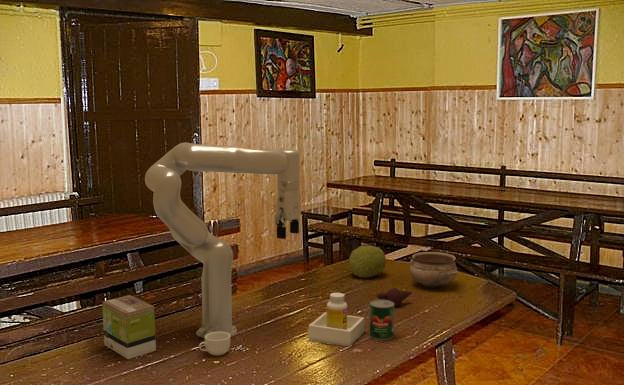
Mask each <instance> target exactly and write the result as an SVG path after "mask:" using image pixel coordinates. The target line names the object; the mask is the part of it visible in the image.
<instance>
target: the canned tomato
mask: <svg viewBox="0 0 624 385" xmlns="http://www.w3.org/2000/svg"><path fill="white" fill-rule="evenodd" d="M394 321H395V306H394V302H392V301H389V300H383V299H374V300H373V299H372V300H371V301H370V303H369V335H368V336H369V337H370V338H371V339H373V340H376V341H388V340H391V339H393V338H394V332H395V331H394V329H395V326H394V324H395V322H394Z"/></svg>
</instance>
